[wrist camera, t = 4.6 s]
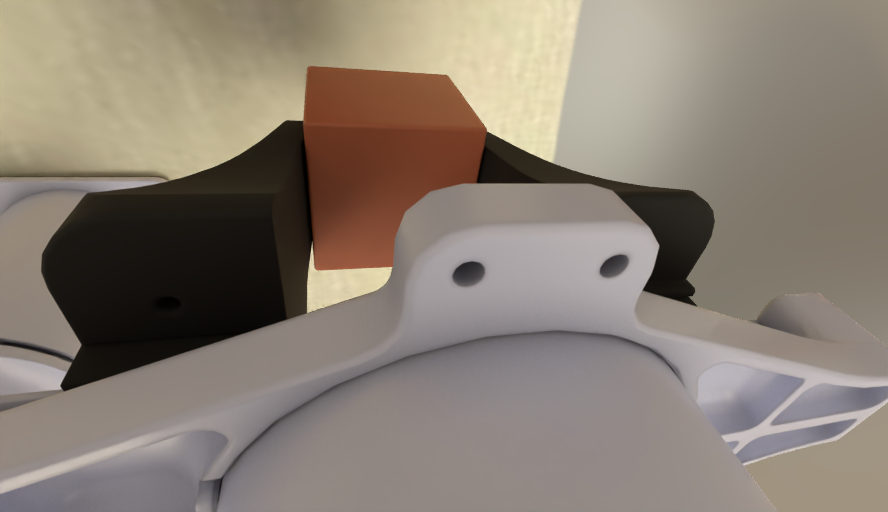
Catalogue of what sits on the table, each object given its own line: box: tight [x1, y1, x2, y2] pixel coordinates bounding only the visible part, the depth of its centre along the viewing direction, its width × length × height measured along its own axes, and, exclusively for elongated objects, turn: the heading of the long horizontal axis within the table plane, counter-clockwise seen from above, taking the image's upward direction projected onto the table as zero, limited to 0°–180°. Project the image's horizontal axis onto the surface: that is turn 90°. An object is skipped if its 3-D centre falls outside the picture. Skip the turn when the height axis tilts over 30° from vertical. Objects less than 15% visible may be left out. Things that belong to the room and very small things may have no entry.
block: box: [303, 66, 487, 270], centre depth 12 cm, size 4×4×4 cm
